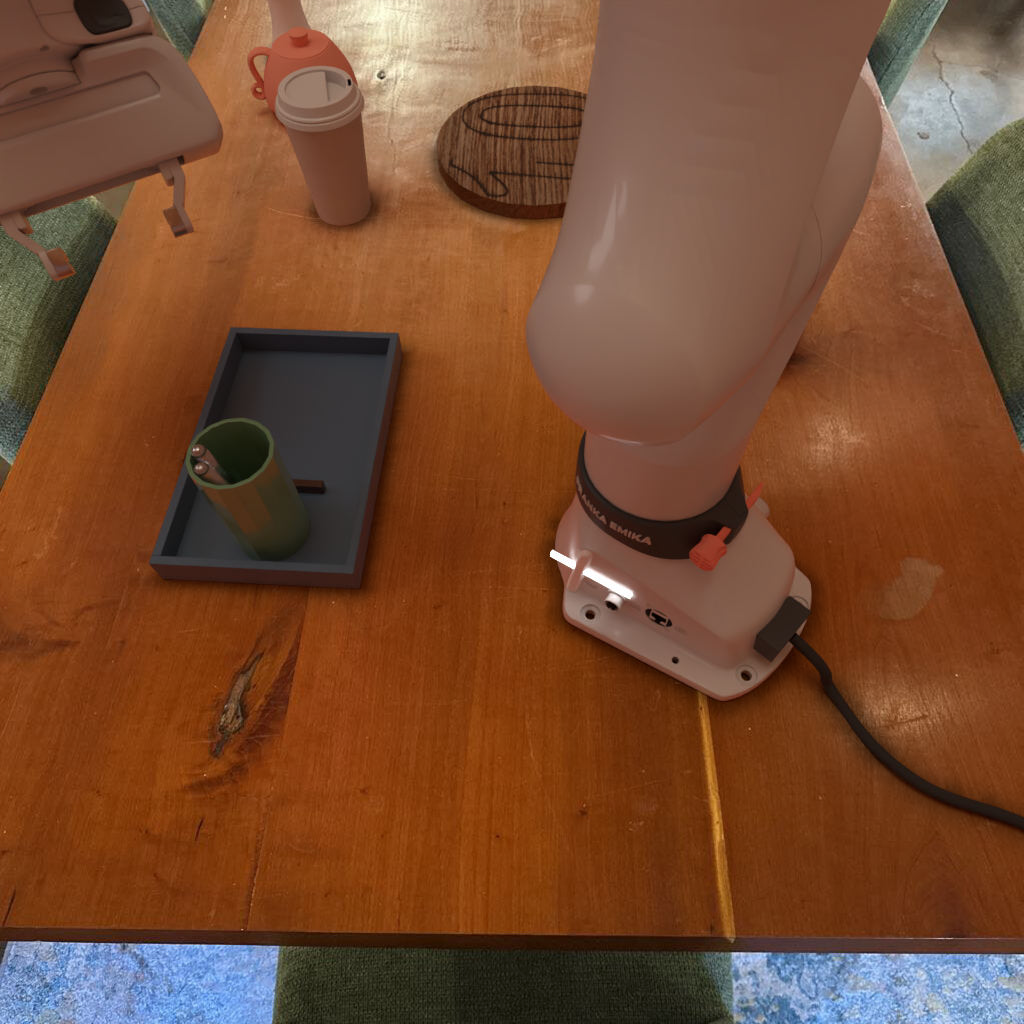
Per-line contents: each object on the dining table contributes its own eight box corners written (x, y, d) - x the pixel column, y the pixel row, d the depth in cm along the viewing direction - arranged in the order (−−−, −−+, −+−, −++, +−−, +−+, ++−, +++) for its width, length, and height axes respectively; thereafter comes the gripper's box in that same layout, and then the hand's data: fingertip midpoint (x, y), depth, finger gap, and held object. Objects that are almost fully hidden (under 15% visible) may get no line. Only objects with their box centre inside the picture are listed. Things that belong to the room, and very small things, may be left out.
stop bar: (324, 494, 71) (321, 487, 70) (240, 490, 71) (236, 483, 70) (326, 487, 71) (323, 480, 70) (242, 483, 72) (238, 476, 71)
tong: (272, 518, 69) (205, 446, 58) (262, 527, 69) (193, 457, 58) (264, 511, 70) (196, 438, 59) (254, 520, 69) (184, 449, 59)
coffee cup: (370, 238, 90) (344, 117, 77) (293, 229, 91) (255, 107, 78) (392, 188, 95) (372, 65, 82) (320, 179, 96) (288, 57, 83)
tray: (359, 589, 67) (353, 573, 64) (162, 579, 67) (148, 563, 65) (402, 353, 81) (398, 332, 78) (239, 347, 82) (230, 326, 79)
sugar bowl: (360, 133, 101) (345, 54, 92) (254, 140, 101) (228, 61, 92) (362, 82, 107) (348, 3, 99) (262, 87, 107) (239, 9, 98)
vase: (261, 54, 111) (239, -22, 103) (304, 35, 114) (286, -41, 105) (290, 75, 108) (270, -2, 100) (333, 55, 111) (317, -22, 103)
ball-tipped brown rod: (289, 532, 68) (207, 463, 58) (280, 542, 68) (196, 475, 57) (281, 525, 69) (198, 456, 58) (272, 536, 68) (187, 468, 58)
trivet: (638, 219, 91) (640, 205, 90) (430, 219, 92) (428, 205, 90) (626, 98, 104) (628, 85, 103) (444, 99, 105) (442, 85, 103)
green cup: (326, 525, 69) (291, 447, 59) (269, 576, 67) (222, 504, 56) (277, 486, 72) (236, 404, 61) (221, 533, 69) (168, 456, 59)
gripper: (-172, 81, 45) (-39, 303, 49) (163, -11, 51) (259, 197, 55) (-127, 115, 51) (-11, 312, 55) (169, 30, 56) (256, 216, 60)
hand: (125, 254), depth 55 cm, fingers open, 7 cm apart
